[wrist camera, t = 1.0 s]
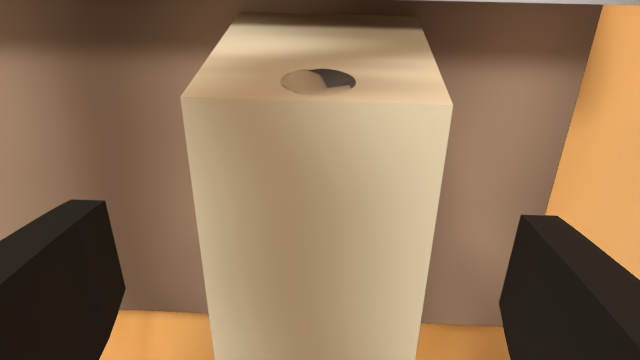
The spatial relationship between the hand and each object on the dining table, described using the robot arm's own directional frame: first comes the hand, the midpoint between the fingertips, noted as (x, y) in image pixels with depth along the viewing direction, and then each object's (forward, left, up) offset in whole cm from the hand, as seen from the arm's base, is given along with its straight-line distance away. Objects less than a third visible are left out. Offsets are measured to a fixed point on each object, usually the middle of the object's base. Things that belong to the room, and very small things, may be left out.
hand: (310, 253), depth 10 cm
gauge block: (0, 0, -5) cm, 5 cm away
